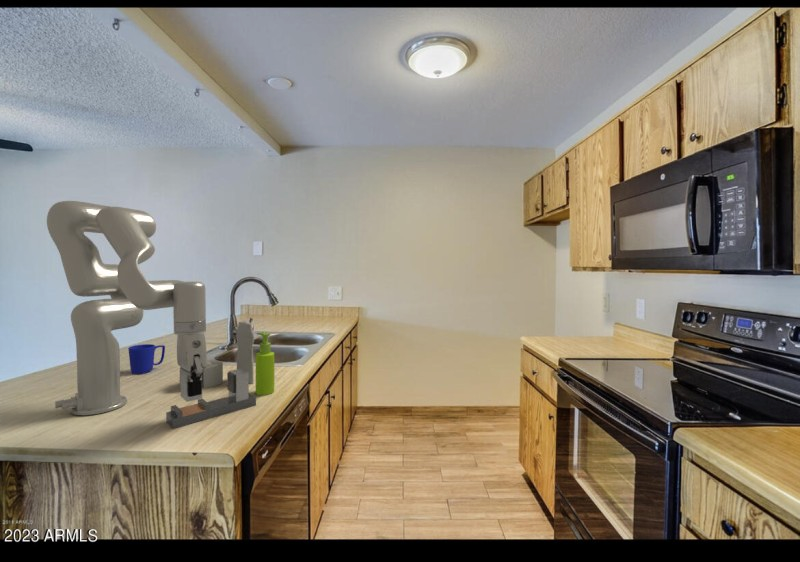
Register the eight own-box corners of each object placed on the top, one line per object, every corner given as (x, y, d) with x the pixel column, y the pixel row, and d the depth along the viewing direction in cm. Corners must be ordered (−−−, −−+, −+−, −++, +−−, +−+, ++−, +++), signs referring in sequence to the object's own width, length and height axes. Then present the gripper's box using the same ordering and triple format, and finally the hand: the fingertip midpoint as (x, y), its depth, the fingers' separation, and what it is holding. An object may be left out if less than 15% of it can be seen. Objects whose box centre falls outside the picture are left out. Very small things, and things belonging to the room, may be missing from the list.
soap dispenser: (266, 387, 123) (267, 330, 122) (277, 391, 118) (278, 333, 117) (250, 391, 118) (250, 332, 117) (261, 396, 114) (261, 335, 113)
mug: (169, 369, 140) (169, 344, 140) (134, 376, 130) (133, 350, 130) (159, 365, 145) (159, 341, 144) (124, 372, 135) (124, 347, 134)
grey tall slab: (231, 379, 130) (231, 320, 129) (242, 376, 133) (242, 319, 132) (247, 385, 124) (248, 323, 123) (258, 382, 127) (258, 322, 126)
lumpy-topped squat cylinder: (226, 382, 127) (226, 359, 126) (188, 393, 116) (188, 367, 115) (210, 377, 132) (210, 354, 132) (173, 386, 121) (172, 362, 121)
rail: (172, 428, 91) (172, 389, 90) (166, 421, 95) (165, 383, 95) (255, 405, 107) (256, 371, 107) (247, 399, 111) (247, 367, 111)
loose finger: (187, 401, 93) (186, 372, 93) (180, 396, 97) (180, 367, 97) (204, 397, 96) (204, 368, 96) (197, 392, 100) (197, 364, 100)
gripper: (216, 329, 92) (217, 397, 93) (194, 321, 104) (195, 381, 105) (184, 333, 87) (185, 405, 88) (165, 324, 99) (166, 388, 99)
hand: (191, 391), depth 96 cm, fingers closed on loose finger, 5 cm apart
